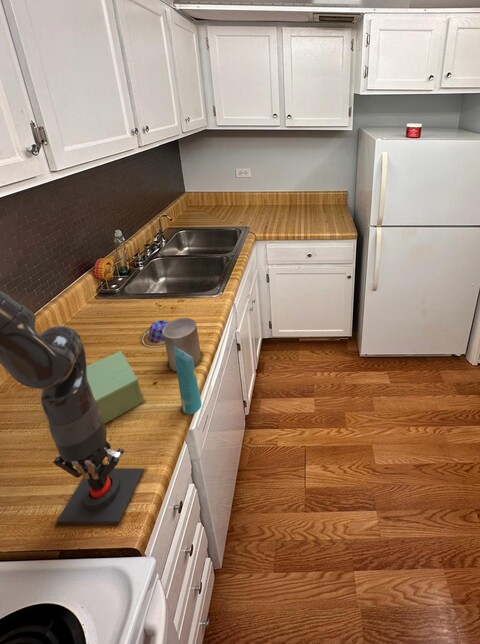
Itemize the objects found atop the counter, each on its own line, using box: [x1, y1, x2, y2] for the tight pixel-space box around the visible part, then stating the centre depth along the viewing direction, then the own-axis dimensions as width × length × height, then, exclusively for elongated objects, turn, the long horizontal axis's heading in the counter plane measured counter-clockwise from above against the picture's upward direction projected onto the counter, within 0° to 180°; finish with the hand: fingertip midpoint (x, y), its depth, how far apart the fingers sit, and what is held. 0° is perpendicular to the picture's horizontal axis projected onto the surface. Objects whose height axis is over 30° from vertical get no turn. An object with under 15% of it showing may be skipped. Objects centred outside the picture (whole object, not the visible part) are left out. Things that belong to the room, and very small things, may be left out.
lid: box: [86, 350, 139, 402], centre depth 88 cm, size 15×12×1 cm
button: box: [90, 477, 112, 499], centre depth 69 cm, size 4×4×2 cm
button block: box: [56, 467, 144, 525], centre depth 69 cm, size 12×10×4 cm
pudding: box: [142, 319, 169, 348], centre depth 116 cm, size 12×12×5 cm
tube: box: [174, 347, 202, 415], centre depth 87 cm, size 7×5×19 cm, turn 63°
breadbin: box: [97, 381, 144, 425], centre depth 90 cm, size 14×12×9 cm
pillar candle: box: [162, 317, 202, 372], centre depth 103 cm, size 10×10×15 cm
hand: (100, 485), depth 68 cm, fingers closed
